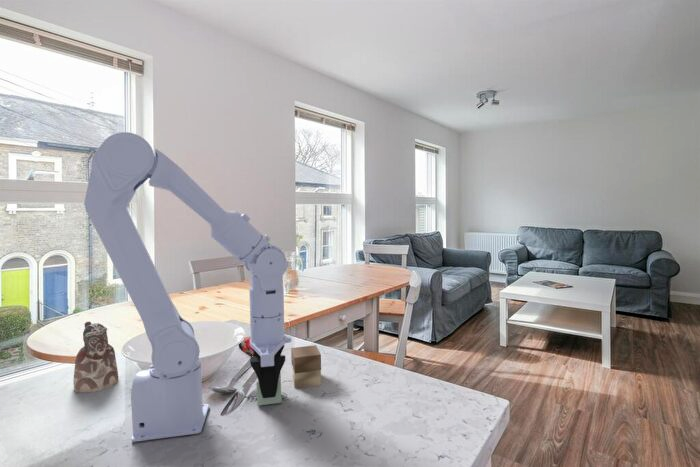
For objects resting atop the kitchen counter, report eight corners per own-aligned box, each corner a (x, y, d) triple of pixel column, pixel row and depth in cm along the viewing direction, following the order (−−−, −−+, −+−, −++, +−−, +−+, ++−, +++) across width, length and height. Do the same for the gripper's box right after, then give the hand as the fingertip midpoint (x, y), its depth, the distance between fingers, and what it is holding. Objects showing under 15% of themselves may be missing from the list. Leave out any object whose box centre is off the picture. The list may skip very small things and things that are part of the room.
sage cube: (257, 405, 63) (256, 382, 62) (258, 394, 67) (257, 372, 66) (281, 402, 63) (280, 380, 63) (280, 391, 67) (280, 370, 67)
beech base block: (294, 388, 69) (294, 373, 69) (292, 377, 74) (292, 362, 74) (321, 385, 70) (320, 370, 70) (317, 374, 75) (317, 359, 75)
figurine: (79, 397, 67) (75, 331, 66) (69, 385, 72) (65, 324, 71) (123, 382, 72) (120, 322, 72) (111, 372, 77) (107, 315, 76)
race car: (235, 348, 90) (235, 332, 90) (256, 343, 94) (256, 327, 94) (259, 365, 80) (258, 347, 80) (282, 358, 84) (281, 341, 83)
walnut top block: (294, 373, 69) (294, 357, 69) (291, 362, 74) (291, 348, 74) (321, 369, 70) (320, 354, 70) (316, 359, 75) (316, 345, 75)
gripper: (292, 324, 58) (294, 409, 59) (289, 301, 72) (290, 370, 73) (245, 327, 56) (248, 414, 57) (251, 304, 70) (253, 374, 71)
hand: (269, 390), depth 65 cm, fingers closed on sage cube, 4 cm apart
